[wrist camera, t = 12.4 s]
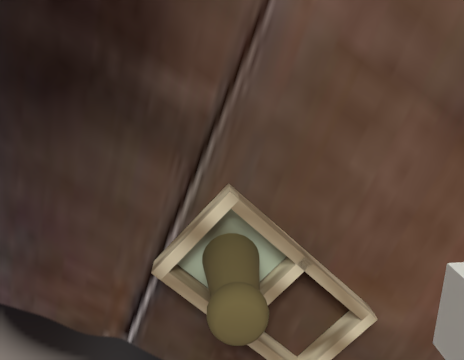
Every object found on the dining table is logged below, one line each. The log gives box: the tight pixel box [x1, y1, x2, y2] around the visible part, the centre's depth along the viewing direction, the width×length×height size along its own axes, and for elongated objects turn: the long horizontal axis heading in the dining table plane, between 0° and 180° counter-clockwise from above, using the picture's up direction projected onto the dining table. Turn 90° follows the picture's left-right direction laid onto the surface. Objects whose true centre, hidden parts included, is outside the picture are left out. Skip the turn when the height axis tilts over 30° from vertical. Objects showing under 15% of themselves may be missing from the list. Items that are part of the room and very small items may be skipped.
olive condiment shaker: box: [202, 233, 269, 346], centre depth 37 cm, size 6×6×11 cm
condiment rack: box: [151, 184, 378, 360], centre depth 43 cm, size 11×22×2 cm, turn 47°
